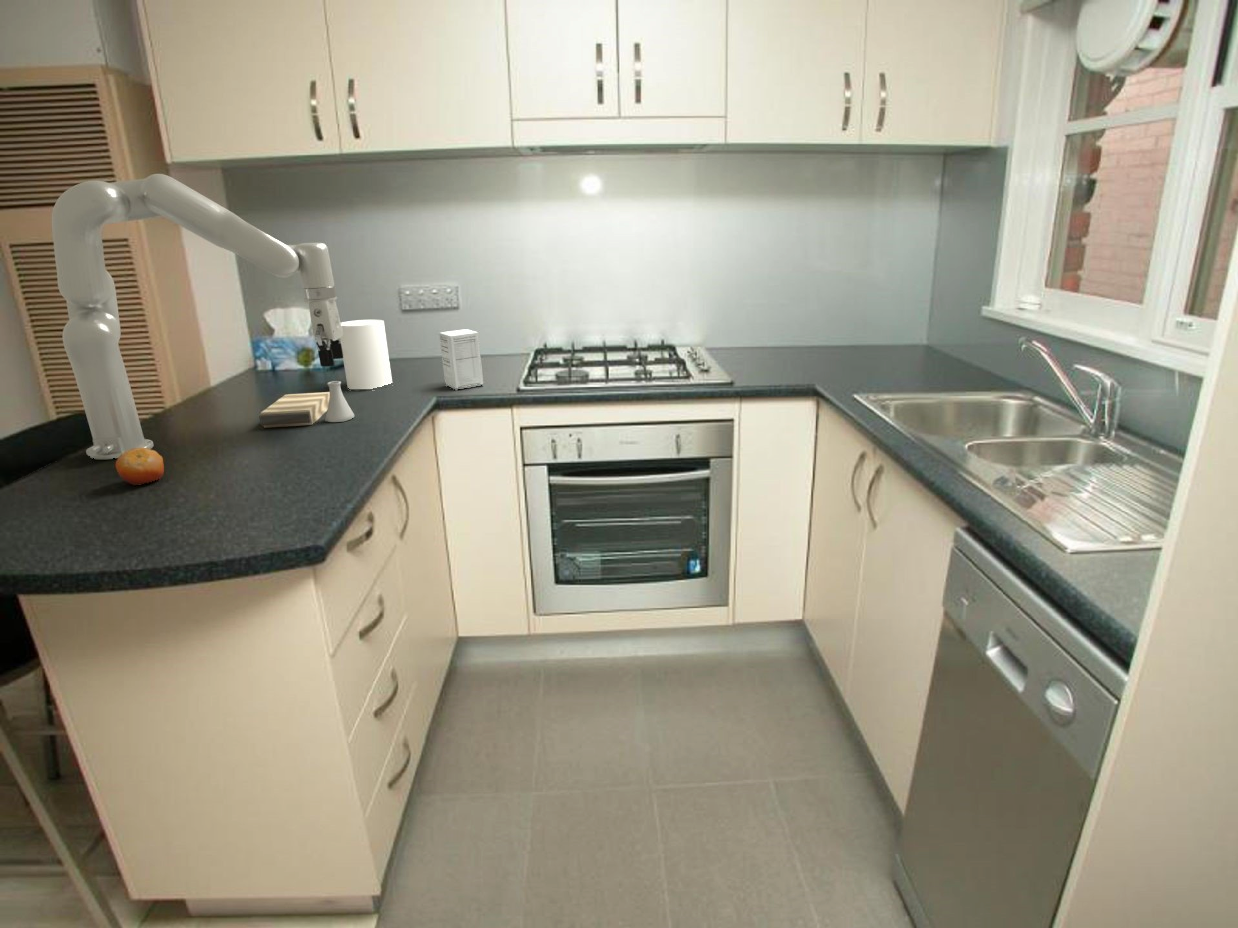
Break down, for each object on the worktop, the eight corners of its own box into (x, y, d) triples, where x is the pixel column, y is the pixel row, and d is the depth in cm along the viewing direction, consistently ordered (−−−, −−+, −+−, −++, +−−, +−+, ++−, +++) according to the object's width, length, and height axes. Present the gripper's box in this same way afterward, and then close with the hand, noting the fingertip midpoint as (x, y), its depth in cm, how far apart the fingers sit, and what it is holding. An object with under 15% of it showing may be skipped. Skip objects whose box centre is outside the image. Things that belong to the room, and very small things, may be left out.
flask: (344, 423, 184) (338, 385, 180) (319, 422, 185) (313, 385, 182) (359, 416, 190) (354, 379, 187) (335, 415, 192) (329, 379, 188)
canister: (346, 392, 217) (335, 327, 211) (349, 383, 230) (339, 321, 223) (392, 388, 221) (383, 324, 214) (393, 380, 233) (384, 318, 226)
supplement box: (472, 381, 227) (467, 328, 222) (484, 386, 220) (479, 331, 214) (444, 386, 222) (438, 332, 217) (455, 391, 215) (449, 335, 209)
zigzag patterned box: (310, 426, 182) (307, 411, 180) (261, 429, 180) (258, 414, 179) (331, 405, 202) (329, 392, 201) (287, 408, 201) (285, 394, 199)
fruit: (153, 464, 151) (152, 437, 146) (170, 489, 148) (170, 461, 144) (109, 475, 145) (107, 447, 140) (126, 501, 142) (125, 473, 138)
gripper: (326, 297, 169) (339, 367, 175) (343, 290, 186) (354, 355, 191) (294, 299, 169) (308, 370, 174) (313, 292, 185) (326, 357, 191)
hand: (332, 362), depth 183 cm, fingers open, 9 cm apart
